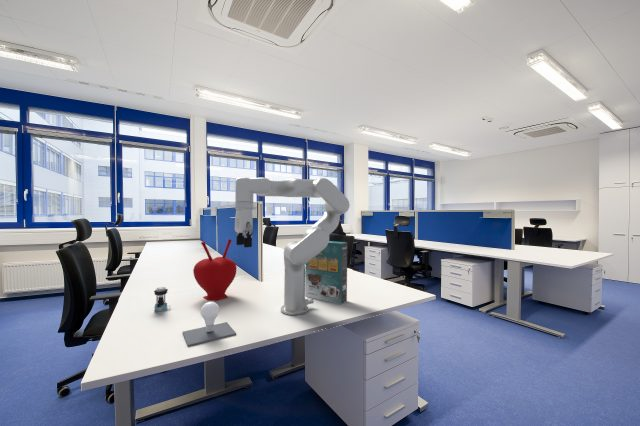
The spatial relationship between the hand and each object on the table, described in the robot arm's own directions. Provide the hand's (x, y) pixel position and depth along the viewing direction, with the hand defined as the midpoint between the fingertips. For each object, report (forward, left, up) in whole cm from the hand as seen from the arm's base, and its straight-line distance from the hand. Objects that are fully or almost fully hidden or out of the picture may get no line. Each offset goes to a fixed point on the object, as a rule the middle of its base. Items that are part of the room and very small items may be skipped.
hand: (243, 245), depth 116 cm
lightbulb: (+16, +10, -30) cm, 35 cm away
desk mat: (+16, +10, -30) cm, 36 cm away
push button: (+28, -27, -31) cm, 49 cm away
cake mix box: (-44, 0, -31) cm, 54 cm away
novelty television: (+3, -33, -31) cm, 45 cm away
